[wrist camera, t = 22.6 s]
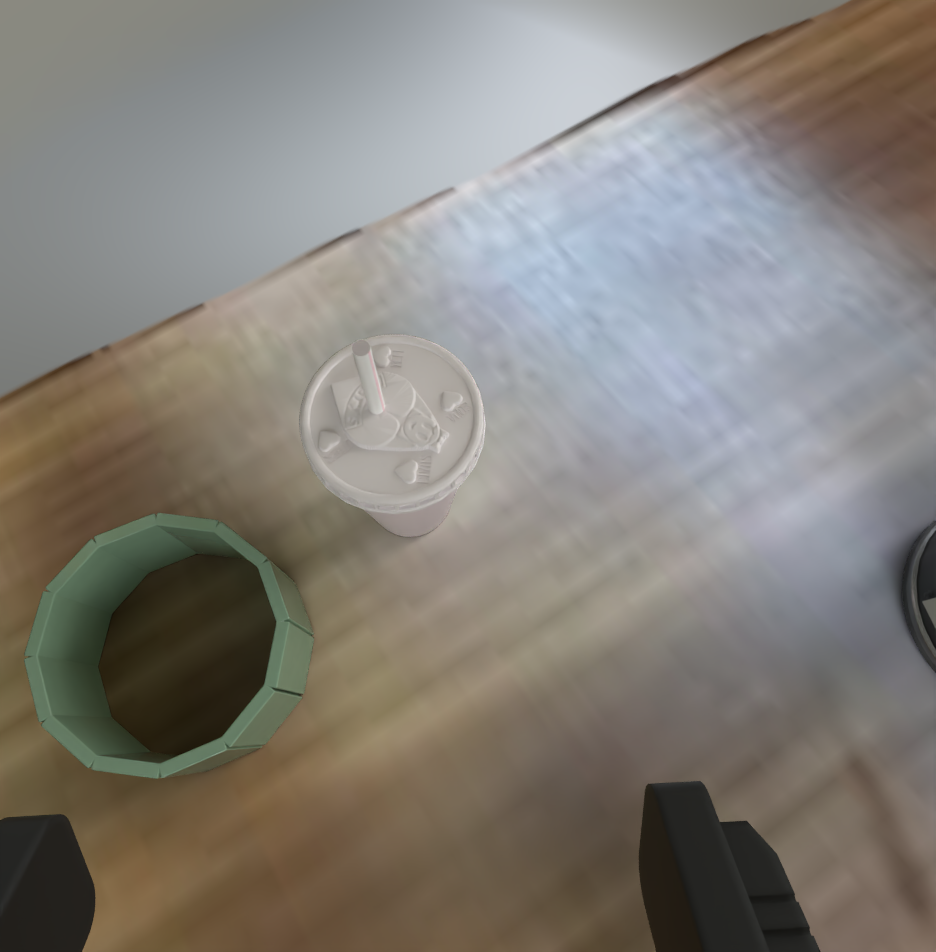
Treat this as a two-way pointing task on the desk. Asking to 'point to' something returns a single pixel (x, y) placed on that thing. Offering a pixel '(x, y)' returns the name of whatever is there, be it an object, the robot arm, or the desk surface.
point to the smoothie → (394, 429)
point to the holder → (85, 628)
